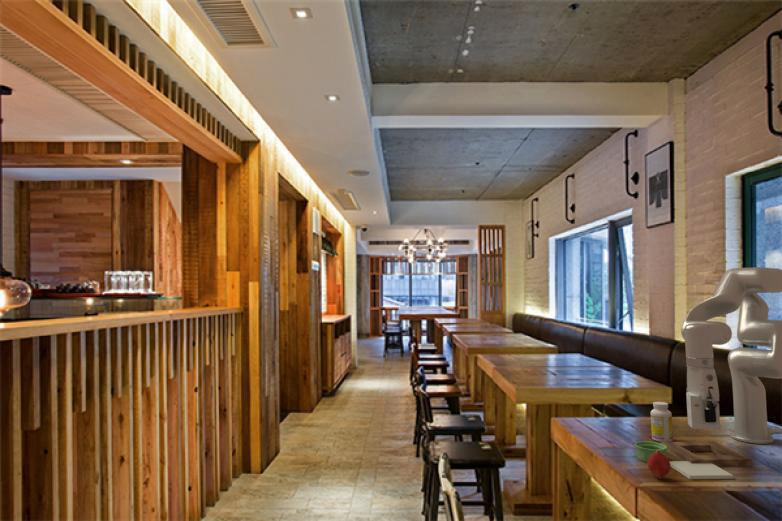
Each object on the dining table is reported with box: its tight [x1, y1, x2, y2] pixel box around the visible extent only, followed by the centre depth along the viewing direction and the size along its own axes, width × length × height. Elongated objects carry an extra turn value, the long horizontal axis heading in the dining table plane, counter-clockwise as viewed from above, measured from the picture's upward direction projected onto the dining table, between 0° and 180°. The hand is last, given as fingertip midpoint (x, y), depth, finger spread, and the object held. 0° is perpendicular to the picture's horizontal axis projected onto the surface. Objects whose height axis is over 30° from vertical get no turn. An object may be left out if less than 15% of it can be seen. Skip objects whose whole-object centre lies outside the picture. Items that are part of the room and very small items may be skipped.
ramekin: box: [634, 440, 667, 463], centre depth 162 cm, size 9×9×4 cm
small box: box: [686, 391, 721, 431], centre depth 165 cm, size 8×6×10 cm
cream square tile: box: [669, 460, 734, 480], centre depth 151 cm, size 12×12×1 cm
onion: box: [646, 450, 672, 479], centre depth 146 cm, size 6×6×8 cm
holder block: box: [660, 440, 753, 467], centre depth 164 cm, size 18×18×2 cm
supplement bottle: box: [650, 401, 674, 443], centre depth 182 cm, size 7×7×13 cm
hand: (703, 418), depth 165 cm, fingers closed on small box, 6 cm apart
